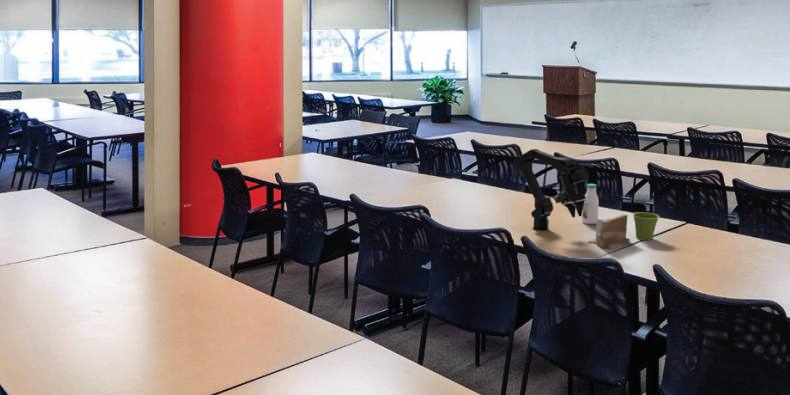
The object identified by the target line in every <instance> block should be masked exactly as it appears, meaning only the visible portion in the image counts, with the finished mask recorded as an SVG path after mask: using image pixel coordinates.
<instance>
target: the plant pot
mask: <svg viewBox="0 0 790 395" xmlns="http://www.w3.org/2000/svg"><path fill="white" fill-rule="evenodd" d="M632 216H633V220H634V225H635V226H634V228H635V237H636V239H638V240H640V241H641V240H643V241H647V240H648V241H651V240H653V238H654V233H655V229H656V226H657V223H658V220H659V219H660V215H659V214H657V213H652V212H640V211H639V212H634V213H633V214H632Z"/></svg>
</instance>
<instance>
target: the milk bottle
mask: <svg viewBox="0 0 790 395" xmlns="http://www.w3.org/2000/svg"><path fill="white" fill-rule="evenodd" d="M584 195H585V197H586V199H583V200H585V201H584V206H583V211H582V216H581V219H582V220H581V222H582V223H583V224H586V225H597V219H598V218H599V207H600V206H599V201H600V200H599V196H598V194H597V184H595V183H588V184H587V185H586V193H585V194H584Z"/></svg>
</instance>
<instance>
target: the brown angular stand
mask: <svg viewBox="0 0 790 395" xmlns="http://www.w3.org/2000/svg"><path fill="white" fill-rule="evenodd" d="M627 226H628V214H620V215H618V216H615V217H614V216H613V217H612V218H610V219H608V220H605V221H602V222H601V234H598V235H597V241H596V238H594V239H591V240H589V241H588V243H591V244H595V245H596V246H599V248H600V249H610V250H614V249H616V248H619V247H621V246H624V245H626V244H628V243H630V242H631V239H630V238H627V230H628V229H627ZM623 244H624V245H623Z"/></svg>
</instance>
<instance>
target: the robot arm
mask: <svg viewBox="0 0 790 395" xmlns="http://www.w3.org/2000/svg"><path fill="white" fill-rule="evenodd" d="M535 160H538V161H540V162H543V163H546V164H548V165H550V166H551V167H552V168H554V170H556V171H558V173H557V175H556V178H560V179H561V183H562V189H561V191H560V192H559V193H557V195H555V196H553V200H554V201H555V203H556V204H559V203H560V204H561V205H562V206H563V207H565V208H566V209H567V210H568V212H569V213H570V215H571V217H572V218H576V212H577V215H578V217H582V214H583V206H584V201H585V200H584V199H586V197H585V195H586V194H585V193H582V192H581V193H578V190H577V188H578V184H577V183H581V182H584V181H587V180H588V179H589V177H590V174H589V172H588V170H587V169H586V168H585V166H584V165H582V166H578V167H577V166H576V164H574V163H573V161H572V159H571V158H567V157H560V156H559V157H558V156H556V155H552V154H549V153H547V152H544V151H541V150H540V149H537V148H534V149H533V148H532V149H530V150H528V151H527V152H524V153H522V154H521V155H516V156H515V158H514V161H513V164H514V166H515V168H516V169H517V170H518V171H519V172H520V173H521V174H522V175H523V177H524V179H525V181H526V184H527V186H528V188H529V190H530V193H531V194H532V196H533V198H534V209H533V210H532V211H531V212H530V214H531V218H533V227H532V230H538V231H547V230H548V229H549V227H550V220H549V217H550V216H551V214H552V212H553V211H554V203H553V201H552V200H551V197H550V196H545V195H544V192H543V190H542V187H541V186H540V183H539V181H538V179H537V177H536V176H535V174H534V170H533V166H534V165H533V161H535Z"/></svg>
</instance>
